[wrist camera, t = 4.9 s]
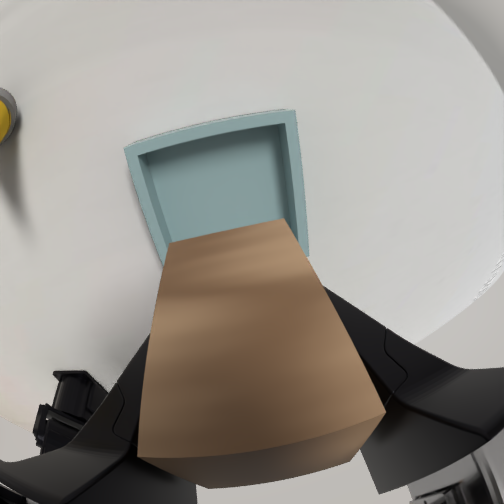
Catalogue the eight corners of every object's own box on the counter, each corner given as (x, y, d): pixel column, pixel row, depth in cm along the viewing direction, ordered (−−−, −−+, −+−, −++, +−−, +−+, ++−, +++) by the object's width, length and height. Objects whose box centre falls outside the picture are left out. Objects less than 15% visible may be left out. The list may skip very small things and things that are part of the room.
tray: (174, 266, 21) (171, 286, 19) (134, 142, 15) (123, 148, 13) (298, 239, 21) (309, 256, 19) (283, 109, 16) (295, 110, 14)
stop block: (200, 323, 11) (208, 488, 5) (169, 243, 9) (137, 456, 3) (292, 303, 11) (349, 461, 5) (283, 218, 9) (386, 412, 3)
